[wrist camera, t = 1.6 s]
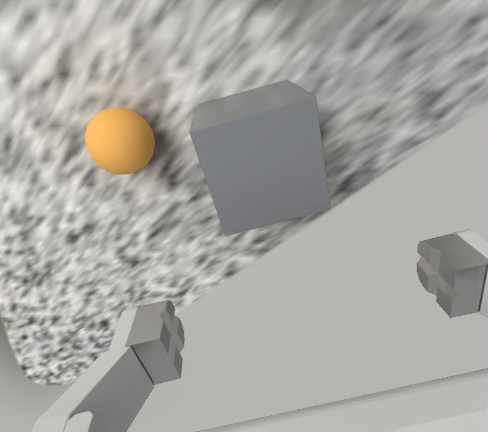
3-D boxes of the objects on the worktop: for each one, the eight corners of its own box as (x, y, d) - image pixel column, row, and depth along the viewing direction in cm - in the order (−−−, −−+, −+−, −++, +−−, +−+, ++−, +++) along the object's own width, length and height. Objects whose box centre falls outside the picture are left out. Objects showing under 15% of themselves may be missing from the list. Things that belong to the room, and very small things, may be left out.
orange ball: (145, 94, 25) (130, 106, 21) (168, 153, 28) (158, 174, 23) (87, 111, 26) (59, 126, 21) (114, 168, 28) (95, 191, 24)
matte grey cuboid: (286, 79, 26) (315, 97, 18) (301, 164, 29) (330, 209, 21) (198, 104, 26) (189, 132, 18) (223, 184, 30) (224, 236, 22)
